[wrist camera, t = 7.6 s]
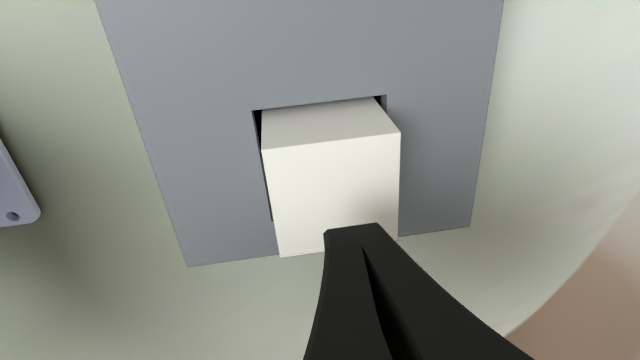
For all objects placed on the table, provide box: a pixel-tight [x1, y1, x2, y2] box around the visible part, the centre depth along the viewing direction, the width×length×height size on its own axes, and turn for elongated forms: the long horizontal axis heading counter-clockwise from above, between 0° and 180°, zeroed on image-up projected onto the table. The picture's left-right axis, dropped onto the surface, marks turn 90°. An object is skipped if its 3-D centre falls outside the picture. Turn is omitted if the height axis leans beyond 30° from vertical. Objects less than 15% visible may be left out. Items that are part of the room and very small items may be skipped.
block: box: [261, 96, 401, 258], centre depth 13 cm, size 4×4×4 cm
